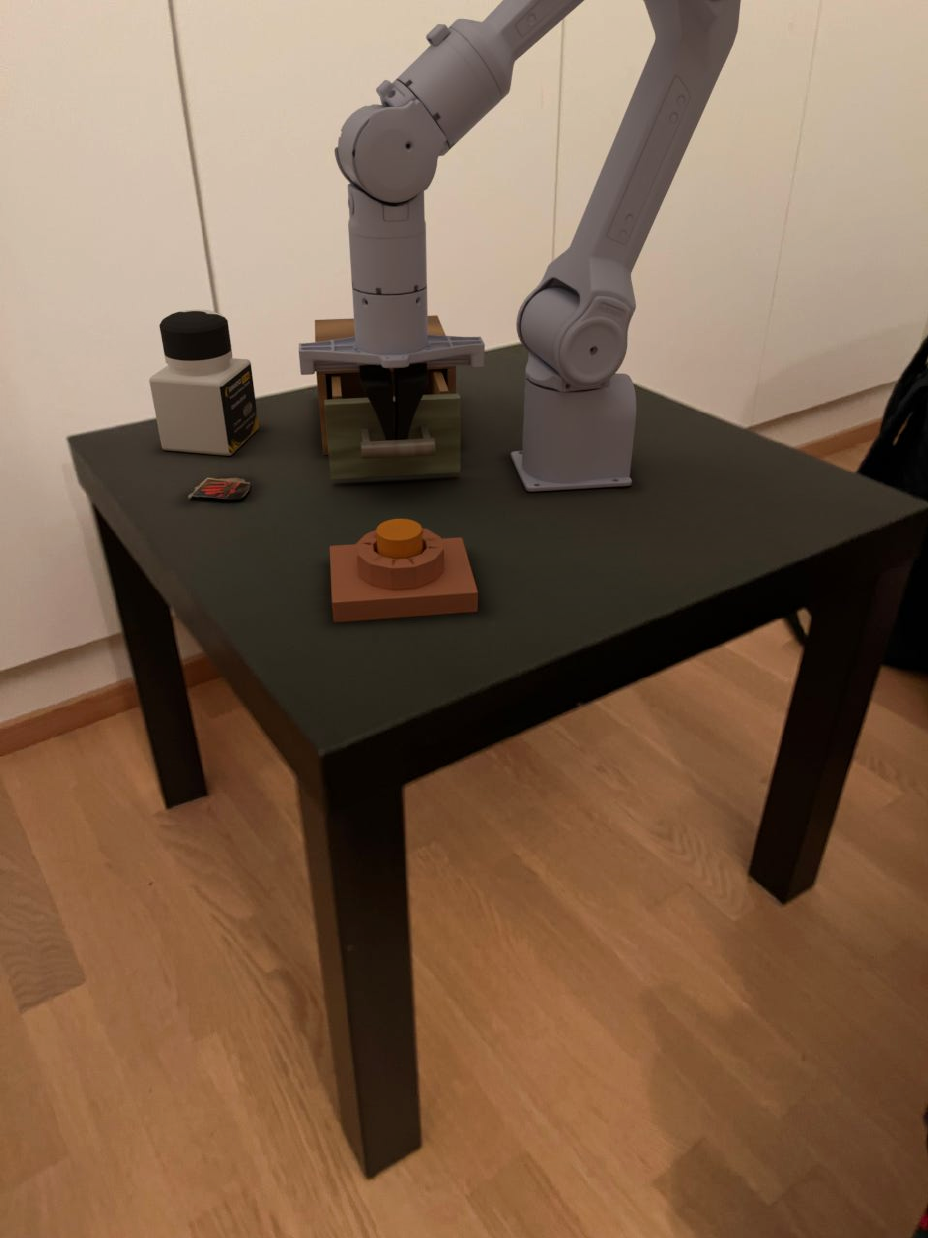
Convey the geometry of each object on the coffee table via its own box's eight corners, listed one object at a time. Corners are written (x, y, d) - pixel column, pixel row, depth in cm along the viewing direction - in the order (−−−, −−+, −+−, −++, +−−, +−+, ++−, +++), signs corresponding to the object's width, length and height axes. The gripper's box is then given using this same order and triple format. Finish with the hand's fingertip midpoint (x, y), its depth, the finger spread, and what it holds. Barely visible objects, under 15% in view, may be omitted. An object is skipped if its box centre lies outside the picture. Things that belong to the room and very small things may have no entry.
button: (420, 538, 68) (419, 516, 67) (424, 560, 65) (424, 538, 64) (376, 541, 67) (374, 519, 66) (378, 563, 65) (377, 541, 64)
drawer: (468, 495, 78) (468, 418, 75) (331, 503, 77) (325, 425, 73) (442, 416, 93) (441, 349, 90) (328, 422, 92) (322, 354, 88)
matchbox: (248, 501, 79) (247, 496, 79) (186, 504, 79) (185, 499, 78) (252, 478, 83) (252, 473, 83) (194, 481, 83) (193, 476, 82)
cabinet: (456, 448, 89) (456, 359, 84) (323, 455, 88) (315, 365, 83) (438, 395, 101) (437, 314, 96) (321, 400, 100) (314, 319, 95)
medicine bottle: (231, 457, 87) (212, 328, 81) (160, 451, 88) (136, 323, 82) (260, 428, 93) (245, 306, 86) (193, 423, 94) (173, 302, 88)
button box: (462, 556, 72) (462, 515, 70) (477, 612, 65) (478, 569, 63) (331, 565, 70) (327, 523, 69) (333, 623, 64) (329, 579, 62)
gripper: (292, 302, 67) (308, 477, 74) (492, 296, 68) (488, 467, 76) (293, 278, 73) (309, 442, 80) (477, 273, 74) (476, 434, 82)
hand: (396, 452), depth 78 cm, fingers closed, pressing on drawer
